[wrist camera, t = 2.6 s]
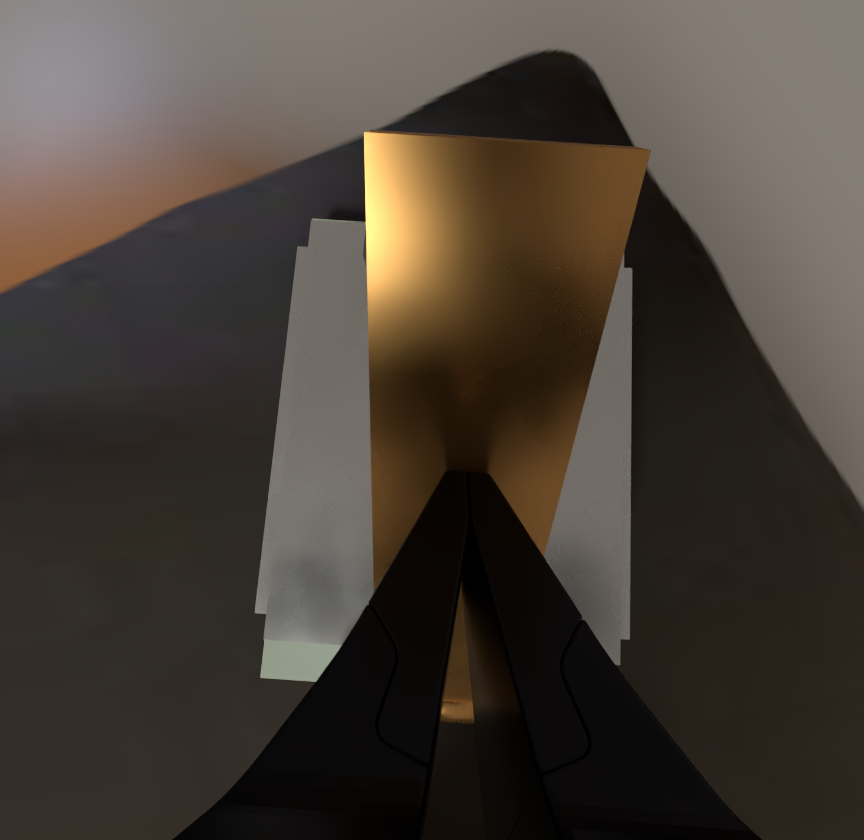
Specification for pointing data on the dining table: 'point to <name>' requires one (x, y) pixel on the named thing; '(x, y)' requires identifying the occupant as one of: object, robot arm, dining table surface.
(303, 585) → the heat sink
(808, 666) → the dining table surface
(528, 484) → the strap
